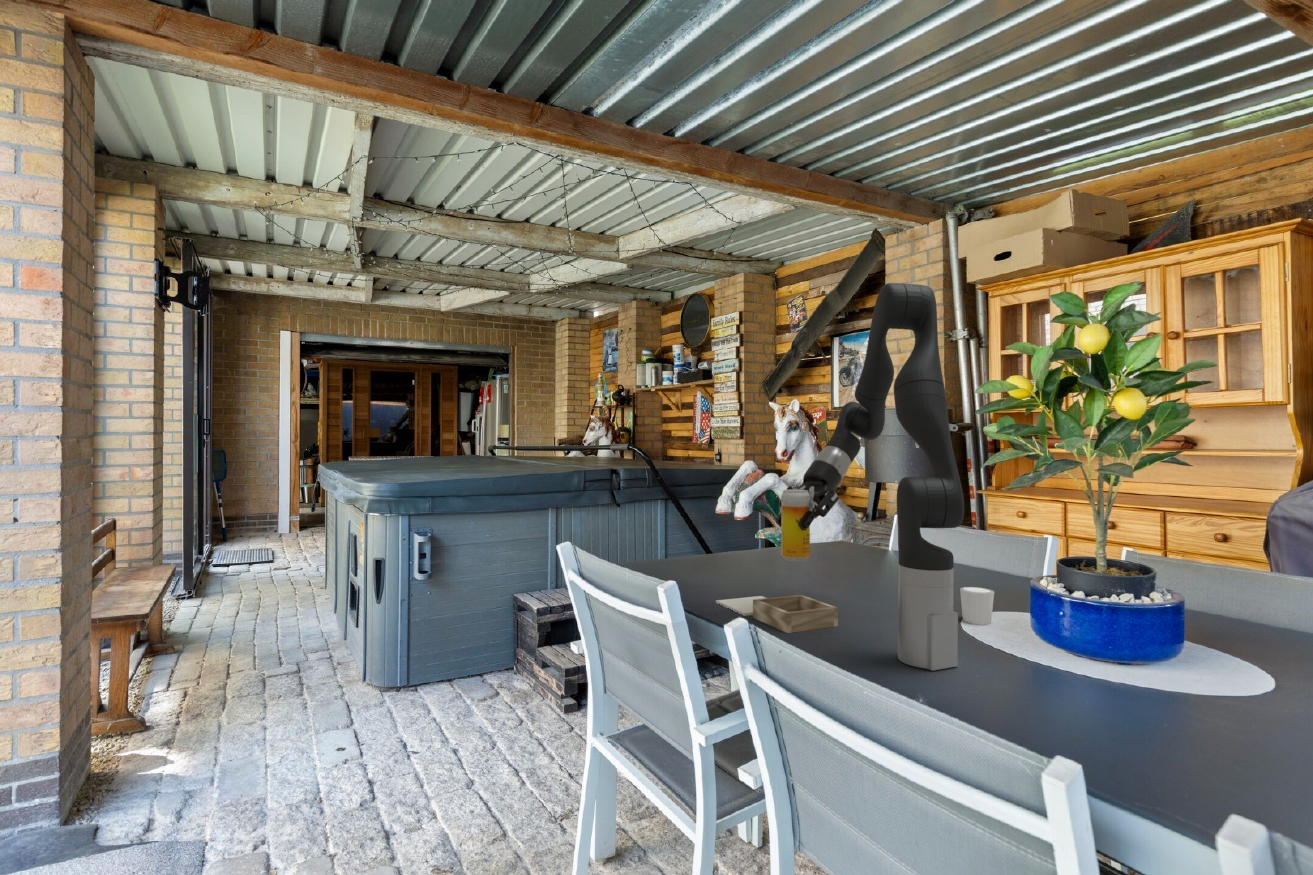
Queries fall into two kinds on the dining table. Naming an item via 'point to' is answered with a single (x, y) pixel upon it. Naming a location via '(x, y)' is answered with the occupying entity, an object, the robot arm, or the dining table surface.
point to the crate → (795, 613)
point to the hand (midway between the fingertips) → (790, 525)
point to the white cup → (977, 605)
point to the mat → (740, 604)
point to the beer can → (794, 525)
